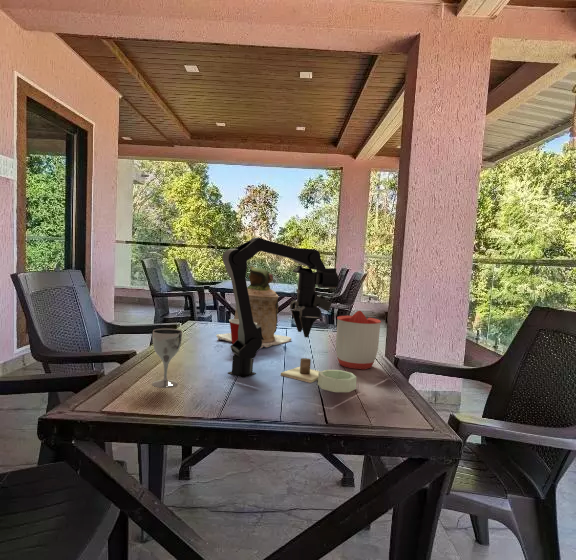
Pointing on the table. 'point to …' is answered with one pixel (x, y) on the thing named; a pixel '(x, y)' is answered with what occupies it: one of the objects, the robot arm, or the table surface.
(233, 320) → the plastic cup
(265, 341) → the cookie jar
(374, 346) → the citrus juicer
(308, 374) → the lid
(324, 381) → the bowl
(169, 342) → the wine glass
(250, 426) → the table surface
